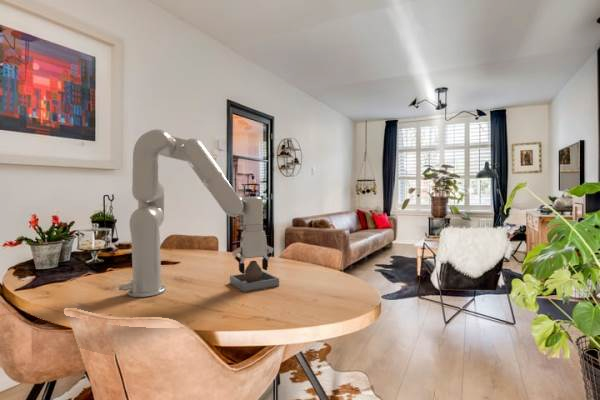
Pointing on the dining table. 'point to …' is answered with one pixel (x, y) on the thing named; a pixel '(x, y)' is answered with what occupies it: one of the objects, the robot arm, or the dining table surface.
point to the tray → (265, 282)
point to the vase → (253, 272)
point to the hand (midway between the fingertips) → (253, 271)
